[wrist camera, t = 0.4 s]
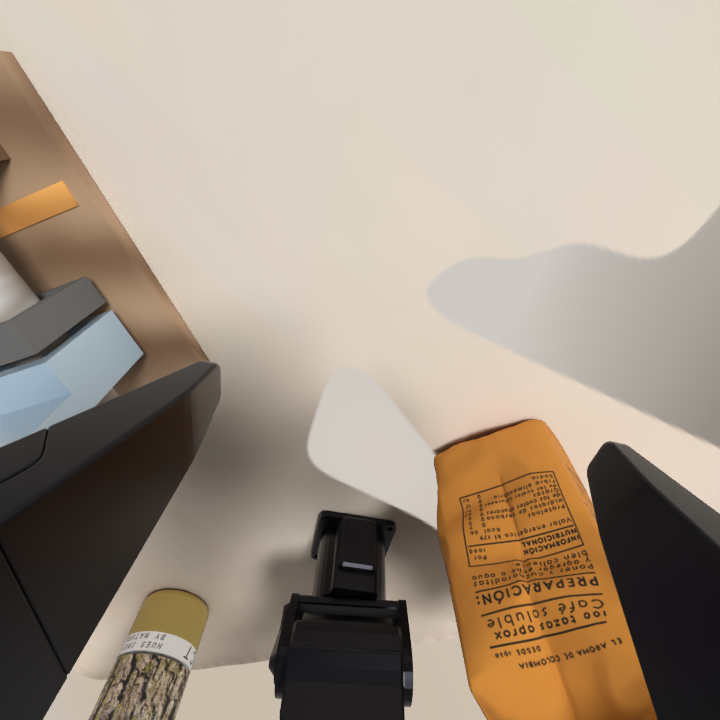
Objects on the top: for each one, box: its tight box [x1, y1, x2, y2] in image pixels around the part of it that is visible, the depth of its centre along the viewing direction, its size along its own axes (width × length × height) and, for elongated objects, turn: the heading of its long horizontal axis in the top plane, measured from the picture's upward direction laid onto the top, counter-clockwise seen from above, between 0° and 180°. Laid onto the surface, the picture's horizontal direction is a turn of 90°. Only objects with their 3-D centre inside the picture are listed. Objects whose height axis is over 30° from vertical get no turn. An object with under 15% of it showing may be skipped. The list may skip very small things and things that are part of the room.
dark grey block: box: [0, 276, 105, 366], centre depth 20 cm, size 2×5×5 cm, turn 109°
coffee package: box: [434, 420, 657, 720], centre depth 22 cm, size 10×12×22 cm
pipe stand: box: [0, 51, 209, 406], centre depth 21 cm, size 17×10×6 cm, turn 19°
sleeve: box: [0, 310, 144, 447], centre depth 19 cm, size 3×5×11 cm, turn 109°
